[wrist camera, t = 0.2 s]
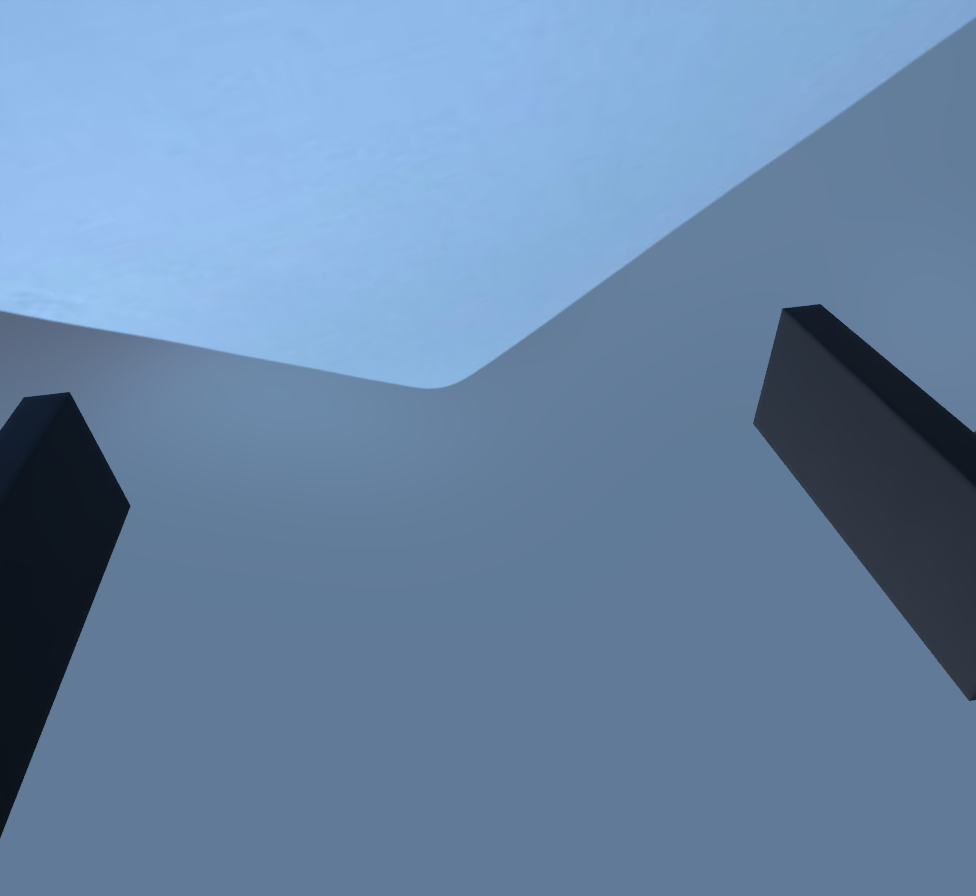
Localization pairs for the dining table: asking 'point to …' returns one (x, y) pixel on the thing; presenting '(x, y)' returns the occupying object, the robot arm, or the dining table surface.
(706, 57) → the dining table surface
